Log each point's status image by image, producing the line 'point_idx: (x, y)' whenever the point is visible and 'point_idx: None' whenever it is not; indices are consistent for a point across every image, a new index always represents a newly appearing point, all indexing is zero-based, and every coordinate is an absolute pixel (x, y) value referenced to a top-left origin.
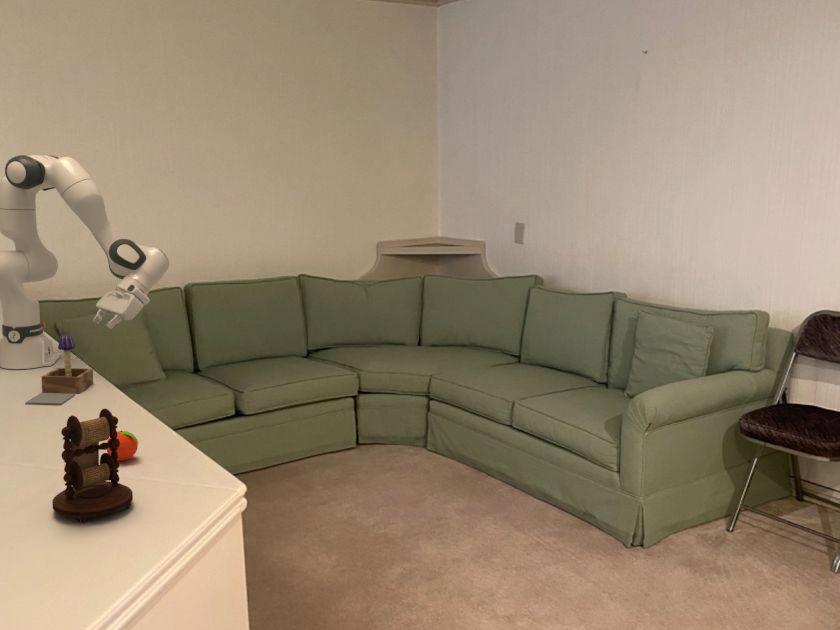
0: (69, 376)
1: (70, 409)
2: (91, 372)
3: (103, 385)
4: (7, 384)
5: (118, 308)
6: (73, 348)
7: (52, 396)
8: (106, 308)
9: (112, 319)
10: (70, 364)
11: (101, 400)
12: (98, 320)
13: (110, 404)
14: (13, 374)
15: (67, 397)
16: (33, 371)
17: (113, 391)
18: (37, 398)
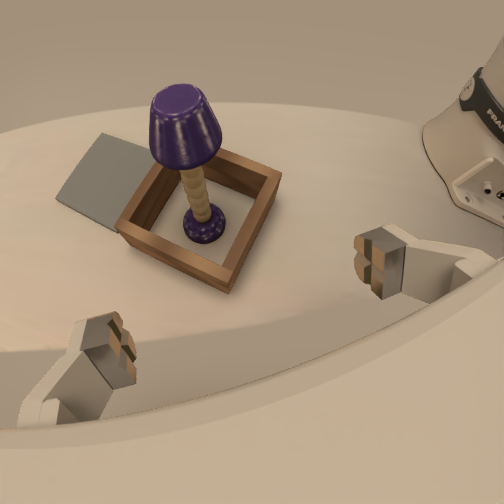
0: (141, 200)
1: (22, 219)
2: (215, 279)
3: (202, 323)
4: (297, 105)
5: (10, 481)
6: (163, 166)
7: (119, 179)
8: (374, 339)
9: (57, 370)
10: (187, 191)
11: (49, 292)
12: (371, 268)
13: (15, 306)
14: (386, 125)
15: (92, 212)
16: (411, 162)
17: None
18: (119, 151)
